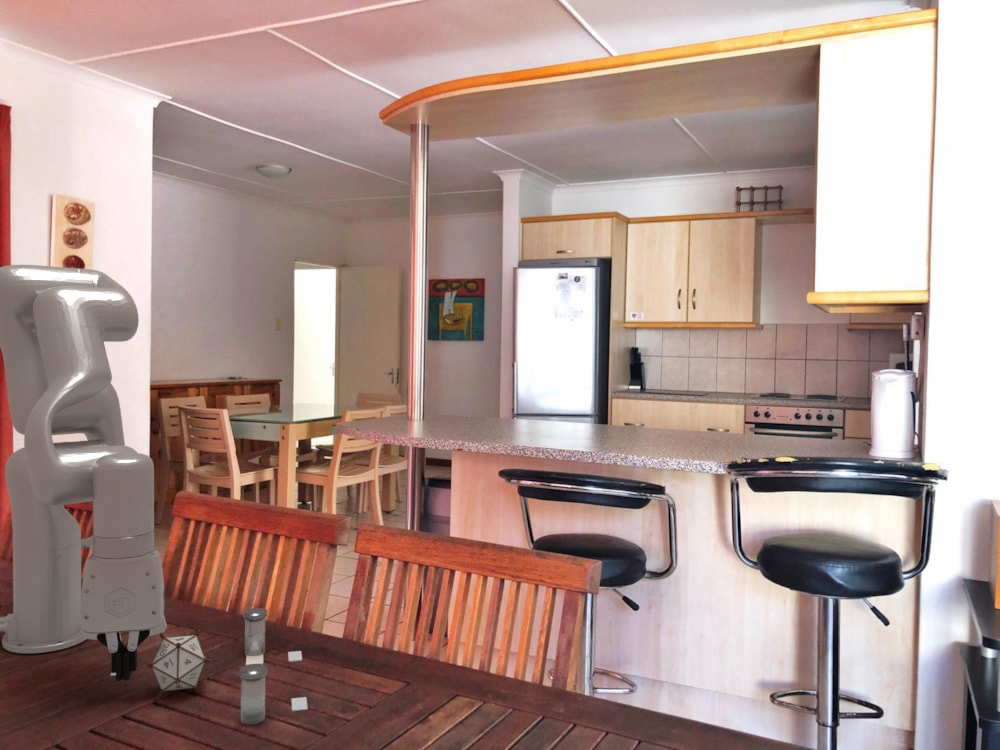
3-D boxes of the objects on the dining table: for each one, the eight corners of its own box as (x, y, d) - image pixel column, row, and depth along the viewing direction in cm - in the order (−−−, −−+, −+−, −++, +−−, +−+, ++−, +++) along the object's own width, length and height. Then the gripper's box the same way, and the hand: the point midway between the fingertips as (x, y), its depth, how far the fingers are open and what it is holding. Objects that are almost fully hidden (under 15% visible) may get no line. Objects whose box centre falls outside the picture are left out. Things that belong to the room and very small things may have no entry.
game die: (184, 721, 112) (182, 683, 106) (133, 693, 113) (128, 654, 107) (225, 669, 119) (225, 631, 112) (176, 644, 120) (174, 604, 114)
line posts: (237, 727, 103) (238, 676, 103) (243, 649, 128) (243, 608, 127) (267, 723, 104) (267, 673, 104) (266, 647, 129) (267, 607, 128)
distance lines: (85, 732, 101) (85, 731, 101) (116, 662, 122) (116, 661, 122) (307, 709, 108) (307, 708, 108) (300, 647, 129) (300, 646, 129)
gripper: (55, 555, 104) (56, 694, 105) (179, 549, 108) (179, 683, 109) (70, 540, 111) (70, 670, 112) (185, 535, 116) (185, 661, 116)
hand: (124, 676), depth 111 cm, fingers closed
